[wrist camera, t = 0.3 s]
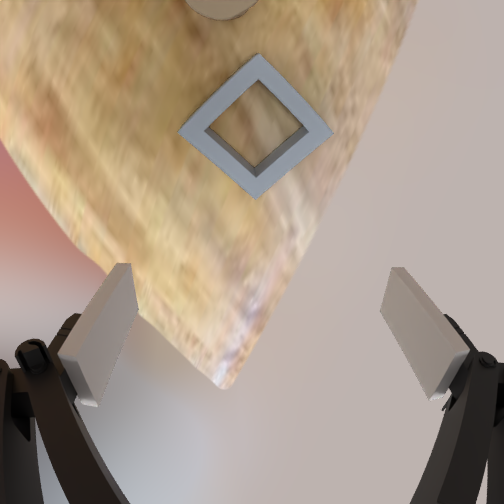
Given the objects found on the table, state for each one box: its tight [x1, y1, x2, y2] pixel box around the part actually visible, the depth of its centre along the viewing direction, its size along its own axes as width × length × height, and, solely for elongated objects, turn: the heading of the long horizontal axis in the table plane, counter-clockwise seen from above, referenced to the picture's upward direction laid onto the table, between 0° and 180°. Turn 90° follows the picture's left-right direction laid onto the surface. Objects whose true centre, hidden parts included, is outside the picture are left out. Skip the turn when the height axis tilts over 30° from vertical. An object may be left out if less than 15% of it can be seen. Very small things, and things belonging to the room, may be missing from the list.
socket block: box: [178, 53, 334, 200], centre depth 33 cm, size 12×12×3 cm
